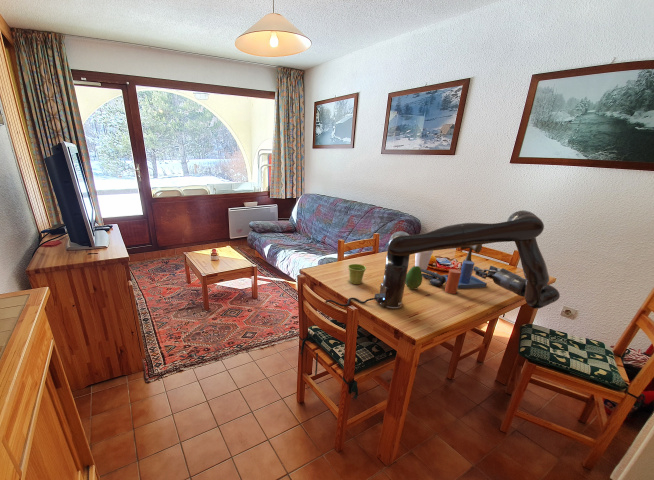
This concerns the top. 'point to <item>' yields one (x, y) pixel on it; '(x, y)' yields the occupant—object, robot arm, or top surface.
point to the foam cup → (423, 259)
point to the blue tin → (466, 272)
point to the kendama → (476, 248)
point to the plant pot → (356, 273)
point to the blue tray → (471, 283)
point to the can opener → (436, 279)
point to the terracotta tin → (452, 281)
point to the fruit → (414, 277)
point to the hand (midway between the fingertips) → (482, 267)
